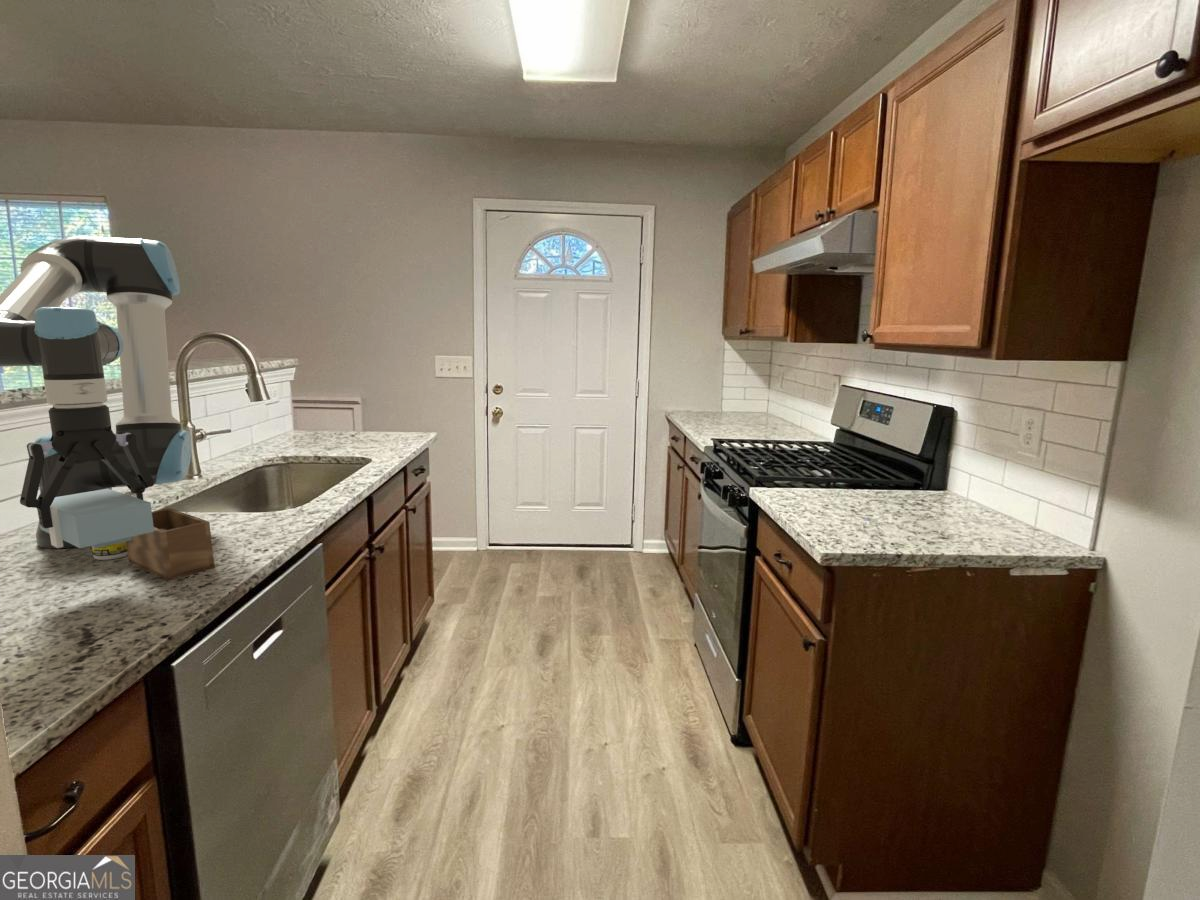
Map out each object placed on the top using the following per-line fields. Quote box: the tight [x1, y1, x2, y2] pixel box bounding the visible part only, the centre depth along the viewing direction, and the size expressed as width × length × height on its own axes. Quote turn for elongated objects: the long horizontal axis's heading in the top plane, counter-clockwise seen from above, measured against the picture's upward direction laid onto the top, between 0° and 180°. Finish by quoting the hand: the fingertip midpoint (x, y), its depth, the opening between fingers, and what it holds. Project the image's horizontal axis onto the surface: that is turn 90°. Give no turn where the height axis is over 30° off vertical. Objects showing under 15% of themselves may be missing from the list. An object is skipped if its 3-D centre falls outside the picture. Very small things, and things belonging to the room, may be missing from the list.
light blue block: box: [40, 489, 154, 549], centre depth 103 cm, size 17×10×6 cm, turn 57°
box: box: [126, 507, 215, 582], centre depth 117 cm, size 16×8×9 cm, turn 57°
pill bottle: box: [91, 541, 128, 561], centre depth 122 cm, size 6×6×11 cm
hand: (98, 537), depth 103 cm, fingers closed on light blue block, 10 cm apart
